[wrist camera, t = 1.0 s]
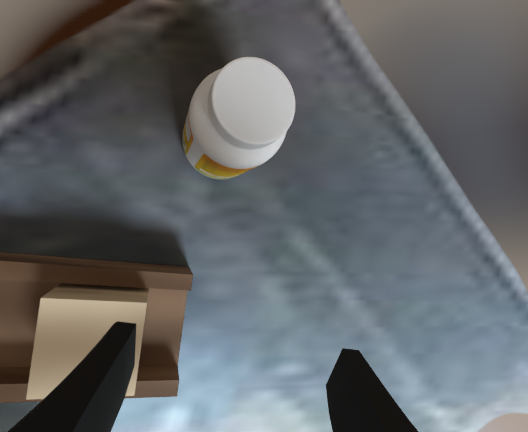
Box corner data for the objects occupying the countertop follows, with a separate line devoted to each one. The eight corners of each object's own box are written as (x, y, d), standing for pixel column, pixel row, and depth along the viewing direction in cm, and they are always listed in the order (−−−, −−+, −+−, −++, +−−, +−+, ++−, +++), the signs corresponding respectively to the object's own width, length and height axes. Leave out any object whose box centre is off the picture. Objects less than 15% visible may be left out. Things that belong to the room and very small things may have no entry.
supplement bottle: (267, 155, 25) (330, 122, 16) (209, 194, 24) (241, 183, 15) (228, 92, 24) (270, 19, 15) (165, 129, 23) (169, 74, 14)
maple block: (139, 362, 21) (134, 395, 18) (51, 363, 20) (25, 399, 16) (149, 286, 21) (146, 302, 18) (63, 281, 20) (40, 298, 16)
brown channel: (174, 373, 23) (177, 396, 20) (-165, 379, 18) (-227, 411, 15) (189, 267, 23) (192, 274, 21) (-142, 240, 18) (-200, 246, 15)
